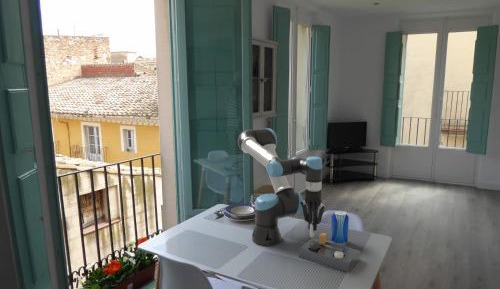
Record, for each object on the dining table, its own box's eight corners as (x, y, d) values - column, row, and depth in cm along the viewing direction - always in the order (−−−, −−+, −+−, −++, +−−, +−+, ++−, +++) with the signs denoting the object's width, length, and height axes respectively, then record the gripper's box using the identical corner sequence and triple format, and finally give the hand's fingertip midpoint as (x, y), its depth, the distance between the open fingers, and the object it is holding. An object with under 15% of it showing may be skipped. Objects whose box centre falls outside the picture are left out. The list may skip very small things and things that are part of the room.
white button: (332, 261, 157) (332, 253, 157) (336, 257, 160) (336, 250, 160) (341, 263, 155) (341, 256, 154) (344, 260, 158) (344, 252, 157)
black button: (308, 250, 164) (308, 243, 163) (312, 247, 167) (312, 240, 167) (316, 252, 162) (316, 245, 161) (320, 249, 165) (320, 242, 164)
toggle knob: (318, 244, 169) (319, 234, 168) (321, 241, 171) (322, 232, 170) (323, 245, 167) (323, 236, 166) (326, 242, 170) (326, 233, 169)
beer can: (348, 246, 176) (349, 216, 174) (330, 245, 178) (331, 214, 175) (346, 239, 184) (348, 210, 182) (330, 238, 186) (331, 209, 183)
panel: (298, 256, 166) (299, 246, 165) (312, 246, 177) (312, 236, 176) (348, 272, 152) (349, 261, 151) (359, 260, 163) (360, 249, 162)
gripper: (297, 188, 169) (296, 235, 173) (322, 193, 161) (321, 242, 165) (304, 185, 175) (303, 230, 179) (329, 189, 167) (328, 236, 171)
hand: (312, 236), depth 172 cm, fingers closed
